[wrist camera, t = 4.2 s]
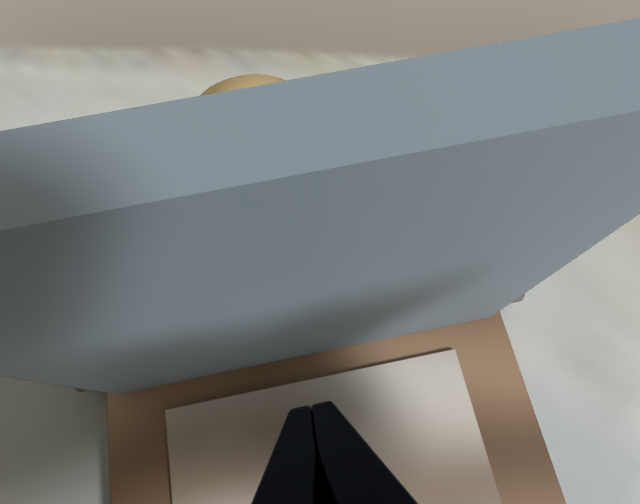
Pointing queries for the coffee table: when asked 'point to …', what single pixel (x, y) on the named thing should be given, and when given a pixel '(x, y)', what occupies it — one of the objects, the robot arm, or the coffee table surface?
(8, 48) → the coffee table surface
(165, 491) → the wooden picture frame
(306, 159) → the door
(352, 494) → the robot arm
